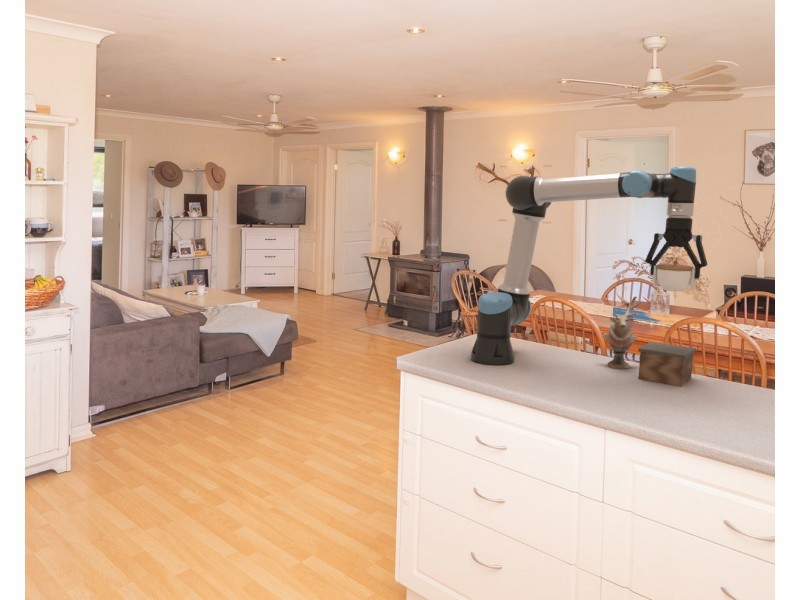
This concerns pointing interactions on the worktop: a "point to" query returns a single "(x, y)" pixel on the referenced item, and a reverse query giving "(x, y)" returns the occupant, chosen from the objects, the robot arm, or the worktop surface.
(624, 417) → the worktop surface
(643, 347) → the block
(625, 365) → the decorative bust
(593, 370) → the worktop surface
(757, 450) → the worktop surface
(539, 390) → the worktop surface
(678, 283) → the lidded jar
